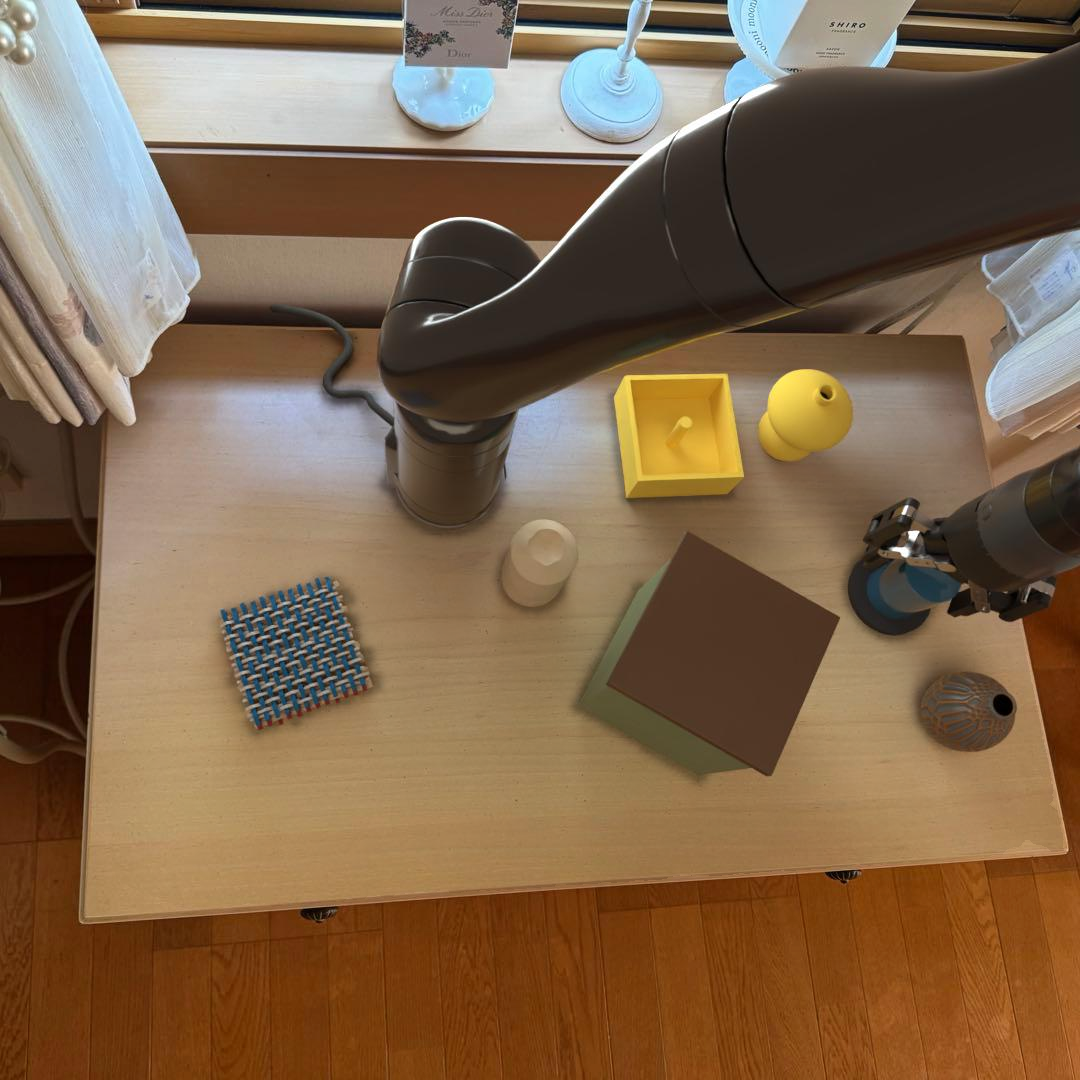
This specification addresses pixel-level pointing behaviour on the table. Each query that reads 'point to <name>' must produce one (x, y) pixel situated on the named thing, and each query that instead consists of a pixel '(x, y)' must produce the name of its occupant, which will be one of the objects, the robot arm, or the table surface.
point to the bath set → (718, 429)
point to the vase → (968, 711)
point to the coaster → (867, 611)
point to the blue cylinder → (908, 588)
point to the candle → (538, 562)
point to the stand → (711, 662)
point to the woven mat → (293, 653)
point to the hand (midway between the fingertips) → (910, 582)
